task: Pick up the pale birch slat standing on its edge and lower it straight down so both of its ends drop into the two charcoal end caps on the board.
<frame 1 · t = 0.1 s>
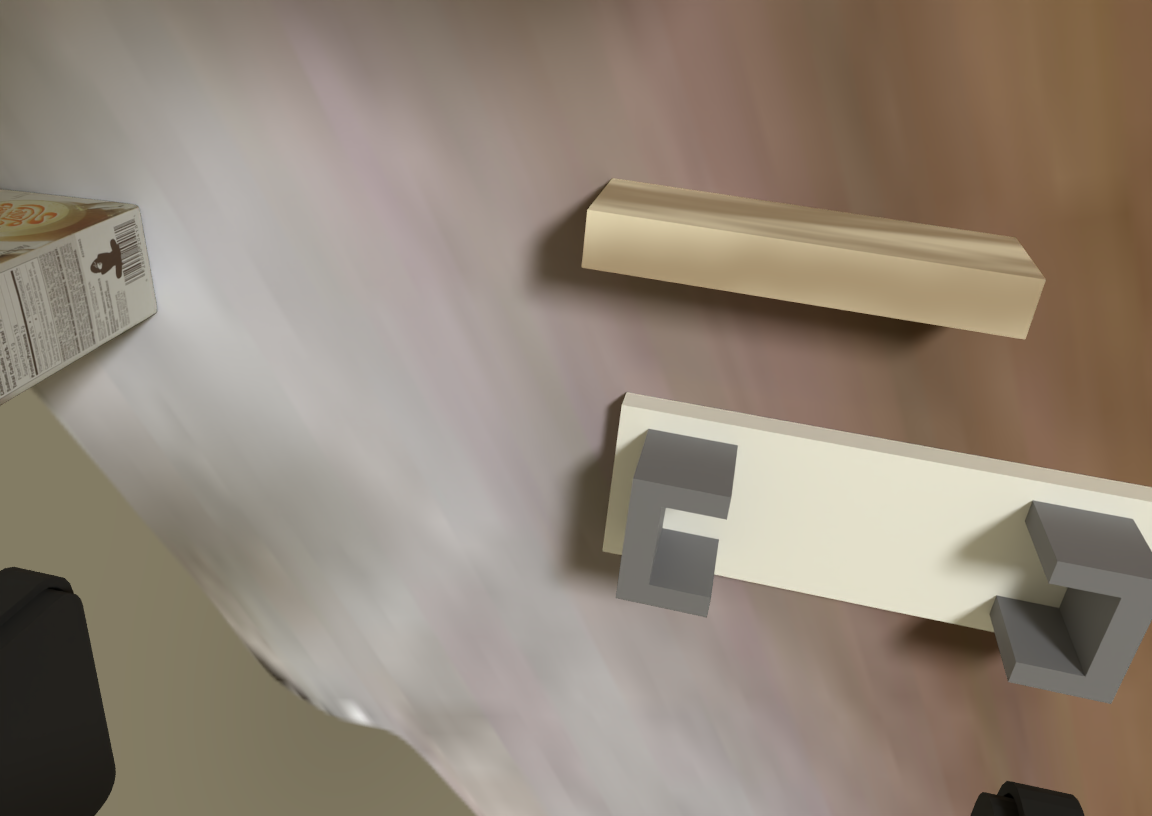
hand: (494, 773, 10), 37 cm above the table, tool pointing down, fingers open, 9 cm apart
slat: (802, 232, 43), on the table
coffee box: (80, 249, 52), on the table
end cap board: (863, 514, 49), on the table
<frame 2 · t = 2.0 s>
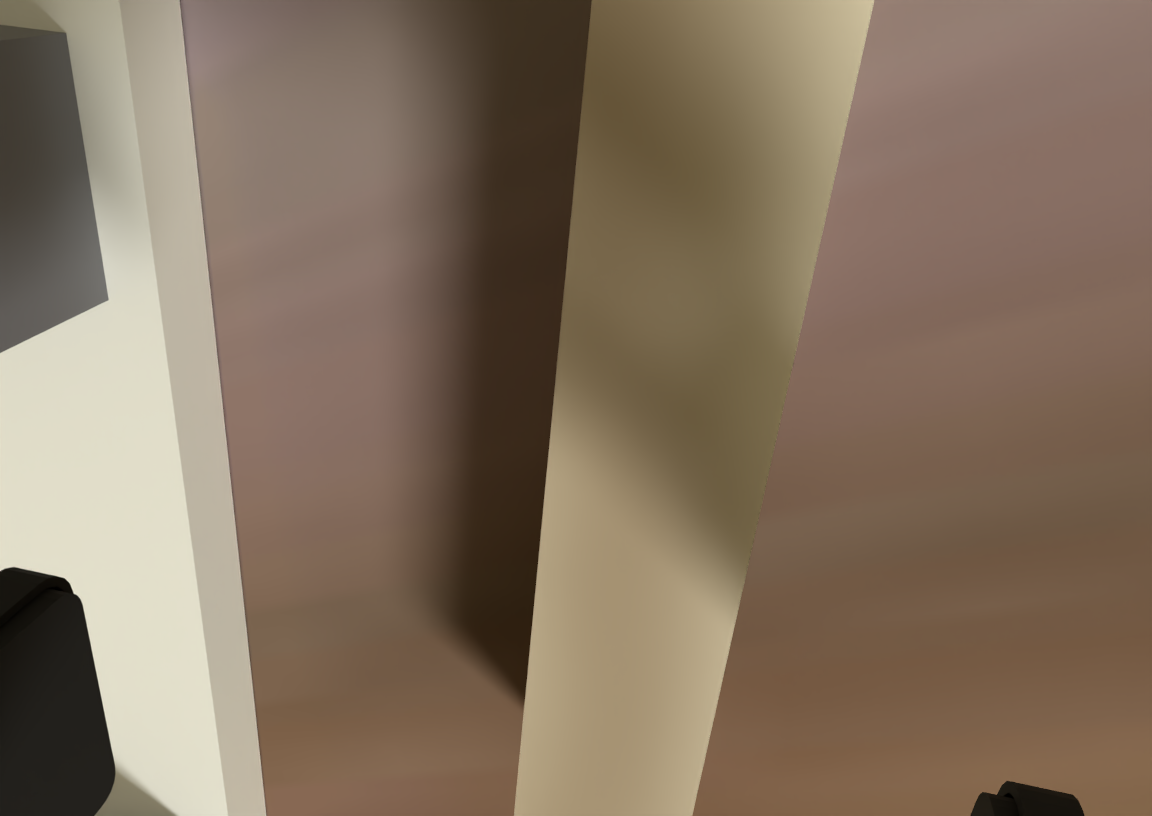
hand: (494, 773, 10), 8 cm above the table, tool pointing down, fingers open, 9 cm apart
slat: (694, 413, 17), on the table
end cap board: (67, 535, 22), on the table
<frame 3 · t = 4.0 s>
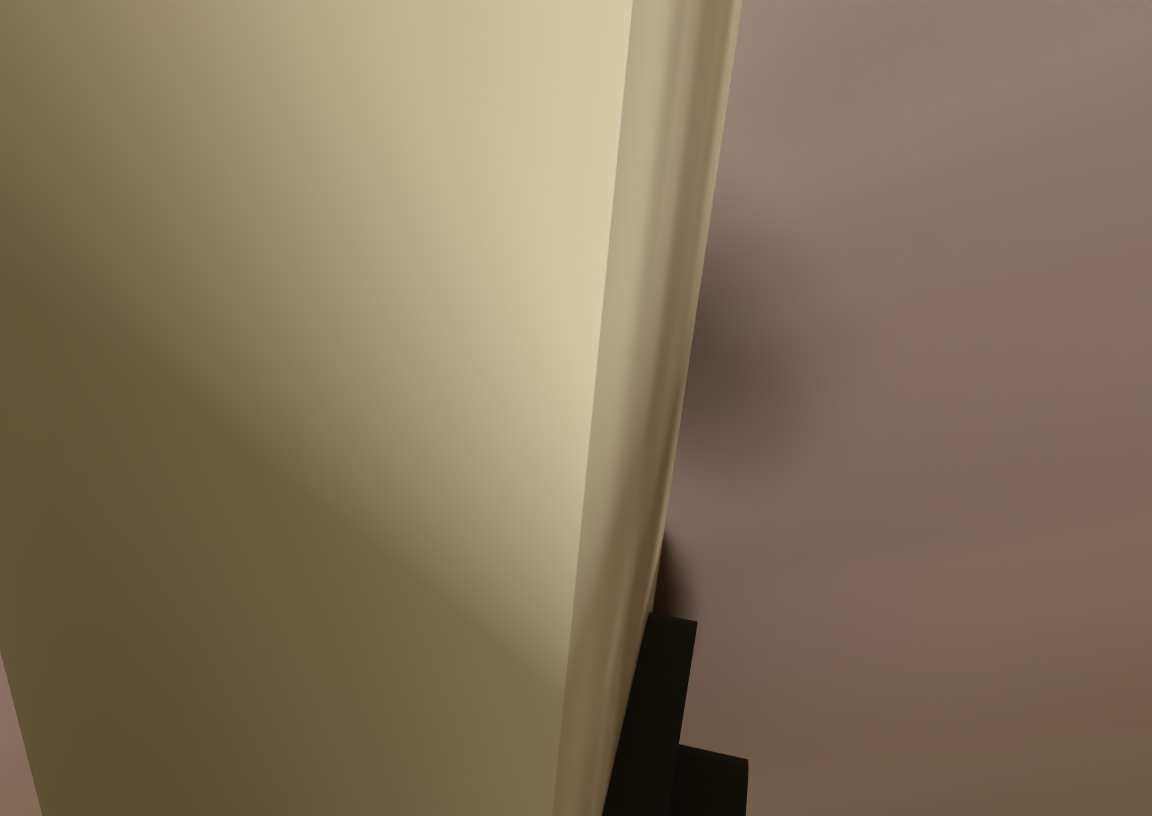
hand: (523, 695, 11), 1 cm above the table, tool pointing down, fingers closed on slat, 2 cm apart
slat: (541, 652, 11), on the table, touching gripper
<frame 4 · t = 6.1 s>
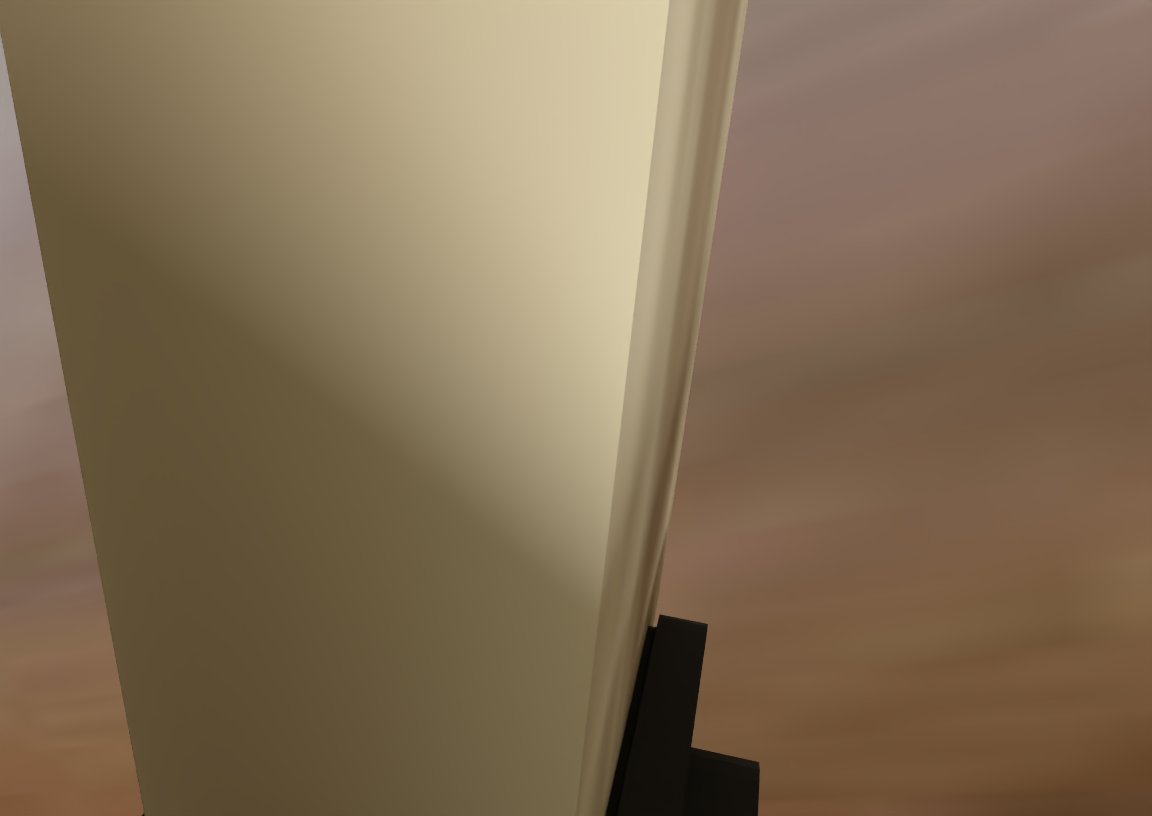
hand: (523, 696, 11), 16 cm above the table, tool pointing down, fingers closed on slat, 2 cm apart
slat: (555, 617, 12), point 15 cm above the table, touching gripper
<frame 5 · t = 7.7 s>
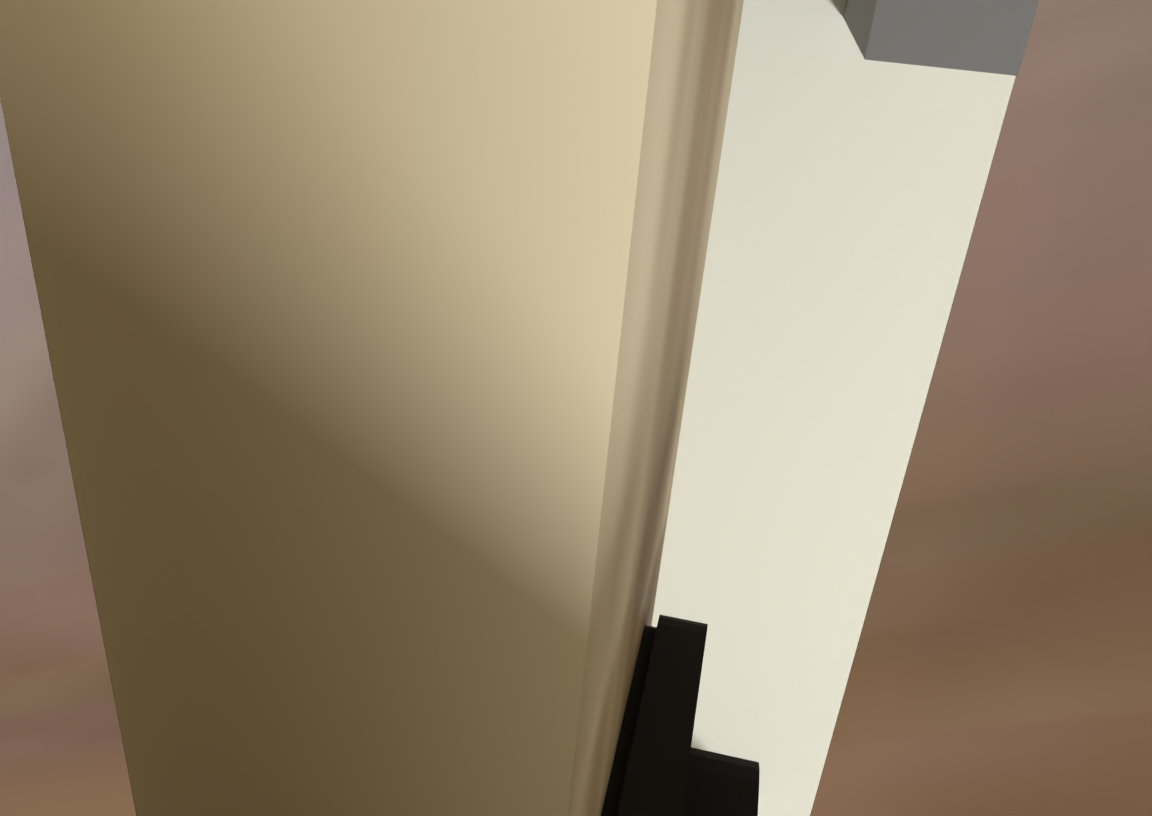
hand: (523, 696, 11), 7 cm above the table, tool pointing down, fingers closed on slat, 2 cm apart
slat: (551, 618, 12), point 6 cm above the table, touching gripper
end cap board: (632, 416, 17), on the table
when the fingers open (3 cm above the table, at t = 8.7 s): slat stays where it is, resting on end cap board.
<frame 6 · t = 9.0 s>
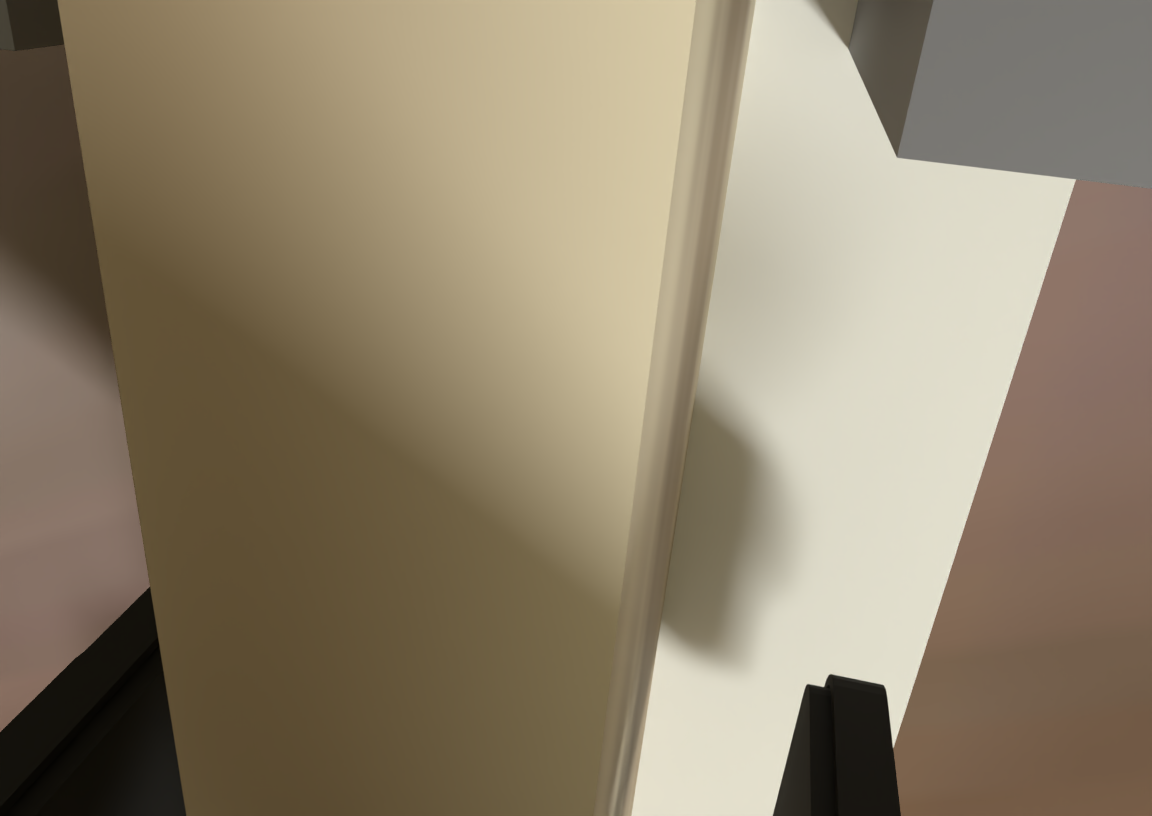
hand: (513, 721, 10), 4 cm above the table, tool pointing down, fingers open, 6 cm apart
slat: (564, 604, 12), point 1 cm above the table, touching end cap board
end cap board: (580, 541, 13), on the table
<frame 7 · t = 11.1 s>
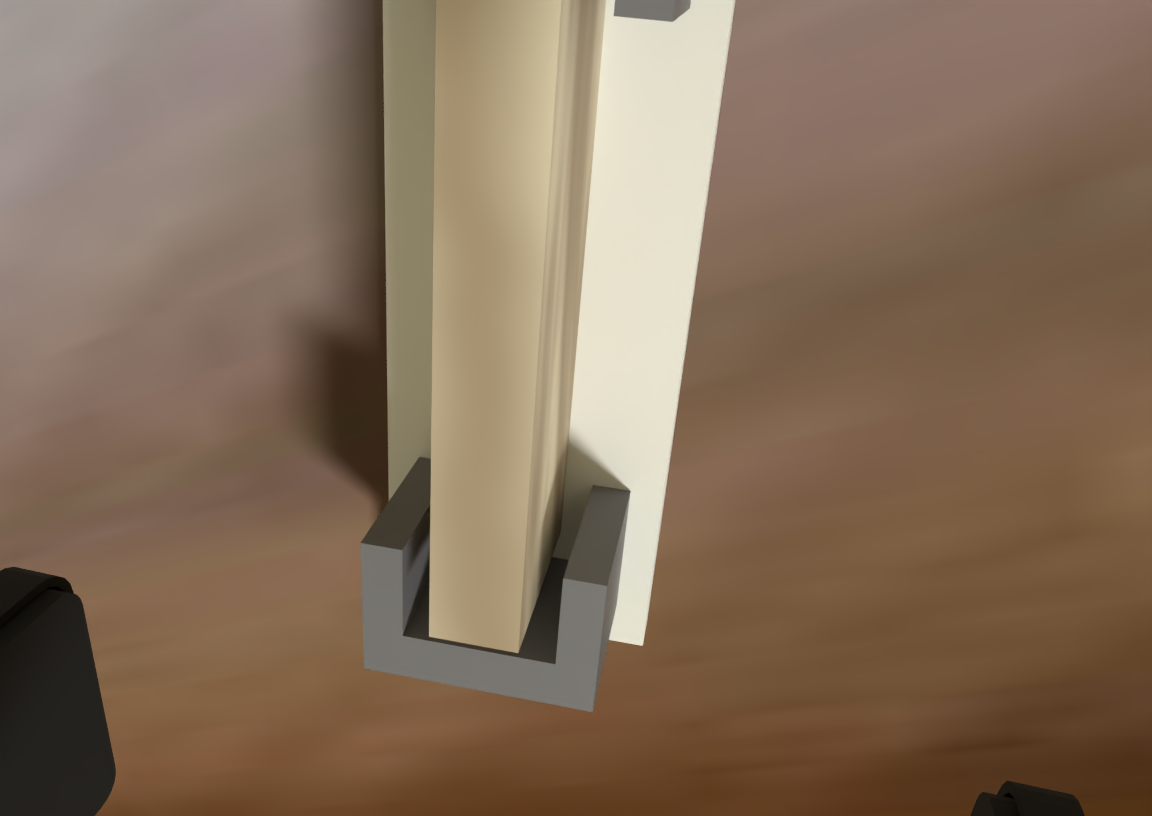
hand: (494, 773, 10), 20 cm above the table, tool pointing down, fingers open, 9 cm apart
slat: (540, 261, 27), point 1 cm above the table, touching end cap board
end cap board: (547, 247, 28), on the table
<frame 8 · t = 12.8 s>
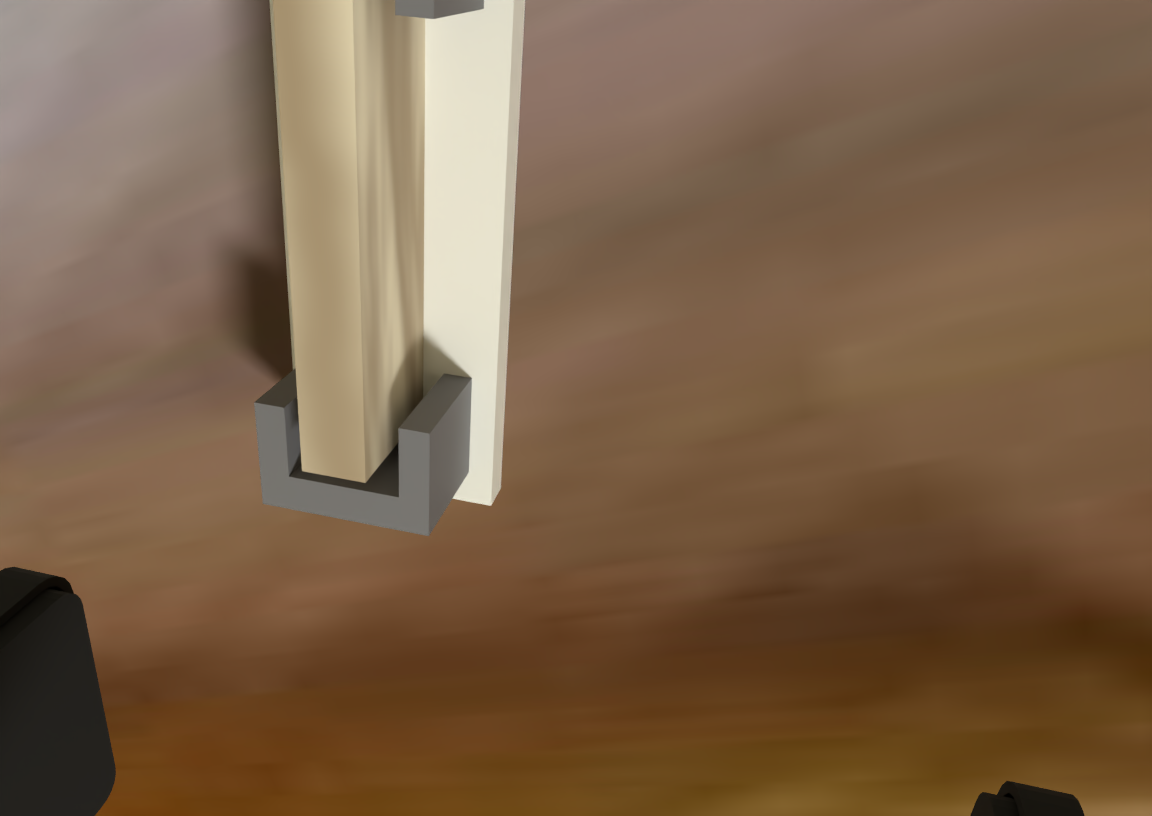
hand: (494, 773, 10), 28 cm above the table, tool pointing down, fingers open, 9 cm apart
slat: (393, 197, 36), point 1 cm above the table, touching end cap board
end cap board: (405, 189, 37), on the table
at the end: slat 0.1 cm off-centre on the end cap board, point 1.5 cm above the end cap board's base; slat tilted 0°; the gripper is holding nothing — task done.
